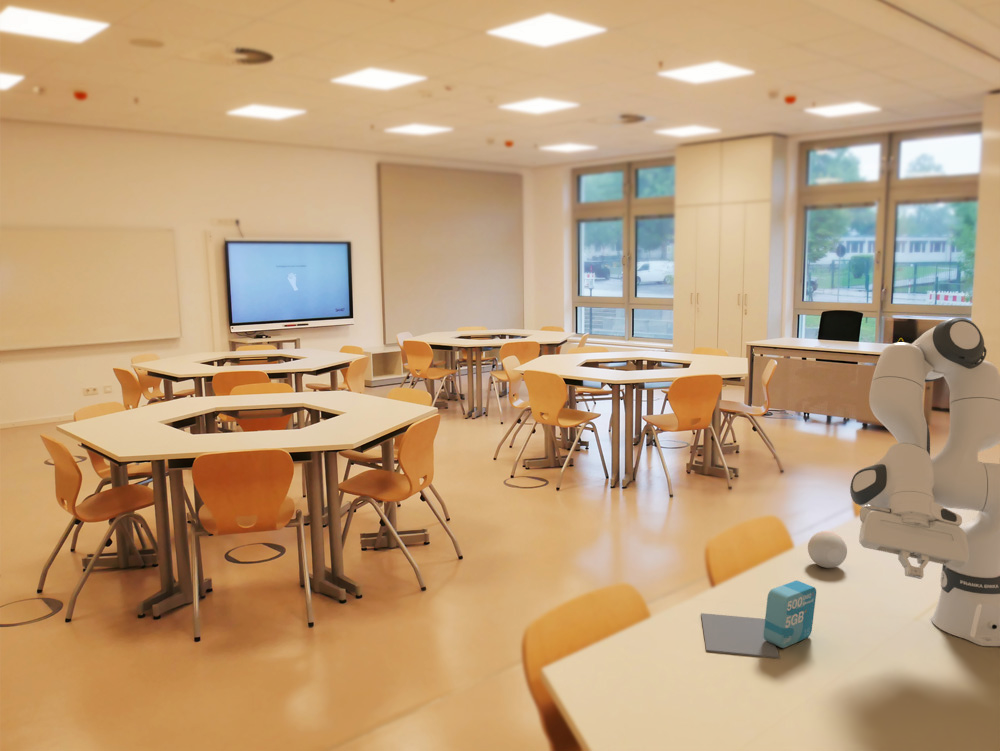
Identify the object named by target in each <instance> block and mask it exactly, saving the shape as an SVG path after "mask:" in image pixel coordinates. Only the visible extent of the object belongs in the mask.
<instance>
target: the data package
mask: <svg viewBox="0 0 1000 751" xmlns="http://www.w3.org/2000/svg"><path fill="white" fill-rule="evenodd" d="M816 597H817V588H816V587H815V586H812V585H809V584H807V583H804V582H802V581H800V580H794V581H791V582H788V583H785V584H783V585H779V586H776V587H774V588H772V589H770V590H769V592H768V594H767V599H766V600H767V601H766V608H765V617H764V619H765V625H764V634H763V637H764V639H765V640H767V641H769V642H771V643H773V644H775V645H776V647H779V648H781V649H785V648H786V647H787V648H788V647H789V646H792V645H794V644H796V643H798V642H801V641H803V640H805V639H807V638H809V637H810V636H811V633H812V631H813V630H812V629H813V623H814V615H815V614H814V613H815V607H816V599H817V598H816Z"/></svg>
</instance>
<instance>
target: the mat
mask: <svg viewBox="0 0 1000 751" xmlns="http://www.w3.org/2000/svg"><path fill="white" fill-rule="evenodd" d="M700 617H701V623H702V629H703V638H704V643H705V651H706V652H708V653H709V652H710V653H720V654H729V655H730V654H731V655H738V656H749V657H761V658H770V659H781V658H780V655H779V652H778V651H779V650H778V649H777V645H775V644H773V643H771V642H769V641H767V640H765V639H764V637H763V634H764V625H765V618H761V617H760V618H758V617H749V616H737V615H727V614H725V615H723V614H712V613H704V612H701V614H700Z"/></svg>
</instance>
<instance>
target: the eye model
mask: <svg viewBox="0 0 1000 751" xmlns="http://www.w3.org/2000/svg"><path fill="white" fill-rule="evenodd" d="M807 552H808V556H809V558H810V559H811V560H812V561H813V562H814V563H815V565H818V566H820V567H822V568H826V569H833V568H836V567H839V566H840V565H842V564H843V562H844V561H845V560H846V558H847V555H848V548H847V544H846V542H845V540H844V539H843V538H842V536H841V535H840V534H837V533H836V532H833V531H830V530H822V531H817V532H816V533H815V534H813V535H812V536H811V537H810V538H809V541H808V544H807Z"/></svg>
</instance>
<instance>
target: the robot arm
mask: <svg viewBox="0 0 1000 751" xmlns="http://www.w3.org/2000/svg"><path fill="white" fill-rule="evenodd" d="M986 356H987V348H986V347H985V339H984V337H983V334H982V332H981V330H980V329H979V327H978V325H976V324H975V323H974V322H973V321H971V320H970V319H967V318H964V317H953V318H949V319H945V320H943V321H941V322H939V323H938V324H937V325H935V326H934V327H932V328H930V329H928V330H926V331H925V332H923V333H922V334H921V335H920V336H919V337H918V338H917V339H915V340H914V341H913V342H911V343H909V342H901V341H900V342H894V343H891V344H889V345H887V346H886V347H884V349H883V350H882V351H881V354H880V355H879V358H878V360H877V362H876V365H875V369H874V371H873V375H872V379H871V384H870V389H869V393H868V399H869V400H868V404H869V408H870V410H871V412H872V415H873V416H874V417H875V418H876V420H878V422H880V423H881V425H882V426H884V427H885V428H886V429H887V430H888V431H889V432H890V433H891V435H892V436H893V437H894V438H895V440H896V442H897V443H894V444H892V445H891V446H889V448H888V450H887V452H886V453H885V455H884V456H883V457H882V458H881V459H879V460H878V461H877V462H876V463H874V464H872V465H870V466H867V467H864V468H861V469H860V470H858V471H857V472H856V473H855V474H854V475H853V476H852V479H851V482H850V487H849V490H850V491H849V493H850V496H851V499H852V501H853V503H855V504H856V505H858V506H859V507H860V510H859V520H860V522H861V525H860V527H859V528H860V530H859V536H858V537H859V538H858V540H859V541H858V542H859V544H860V545H861V546H862V547H863V548H864V549H865V548H866V549H871V550H875V551H879V552H883V553H889V554H893V555H897V559H898V561H899V562H900V564H901V565H902V566H901V567H903V569H904V576H905V577H909V578H914V579H919V580H922V579H923V578H924V576H925V575H924V569H925V568H926V566H927V565H928V563H929V562H931V563H935V564H939V565H940V564H941V565H942V567H941V573H940V588H941V590H940V593H939V598H938V601H937V605H936V608H935V610H934V612H933V613H932V614H933V615H932V616H931V622H932V623H933V625H934V626H936V627H937V628H938V629H940V630H941V631H944V632H946V633H948V634H949V635H953V636H956V637H959V638H961V639H965V640H967V641H970V642H971V643H974V644H975V645H978V646H982V647H1000V463H993V462H992V463H991V462H982V461H980V460H978V459H979V458H978V456H979V453H981V452H984V451H986V450H990V449H992V448H994V447H995V448H996V446H998V445H1000V372H999V370H998V368H997V366H996V365H995V364H993V363H992V362H990V361H988V360H985V358H986ZM942 377H943V378H944V380H945V381H946V383H947V386H948V389H949V427H948V428H949V430H948V435H947V440H946V443H945V445H944V446H943V448H942V449H941V450H940V452H939V453H938V454H936V455H935V457H933V458H931V433H930V427H929V425H928V423H927V418H926V416H925V412H924V411H925V410H924V402H923V401H924V400H923V399H924V391H925V390H924V389H925V384H926V383H932V382H935V381H938V380H940V379H941V378H942ZM950 509H956V510H964V511H965V510H966V511H977V512H978V513H977V515H975V517H973V518H972V519H970V520H969V521H966V522H963V517H962V516H961V515H960V514H959V513H957V512H954V511H952V510H950ZM909 558H912V559H916V561H917V564H919V565H918V566H914V565H912V564H911V562H910V561H909V560H910V559H909Z"/></svg>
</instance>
